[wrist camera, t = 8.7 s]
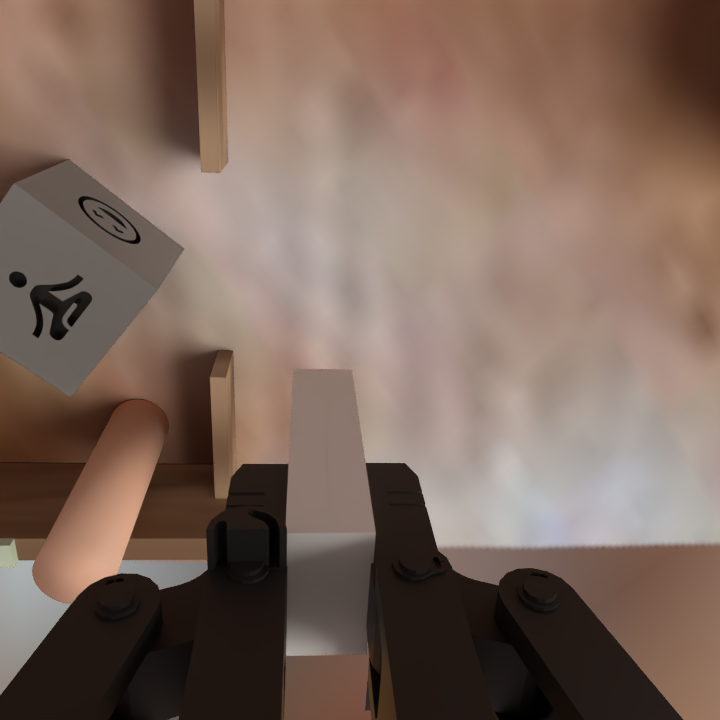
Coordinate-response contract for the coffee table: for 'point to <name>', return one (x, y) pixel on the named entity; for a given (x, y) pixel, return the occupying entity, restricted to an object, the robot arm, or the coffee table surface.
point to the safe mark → (8, 552)
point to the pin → (103, 503)
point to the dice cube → (73, 272)
